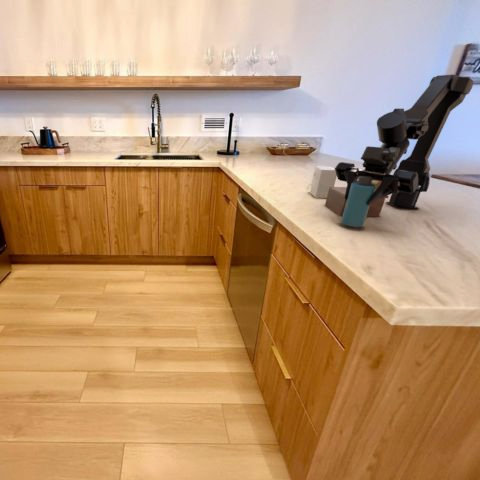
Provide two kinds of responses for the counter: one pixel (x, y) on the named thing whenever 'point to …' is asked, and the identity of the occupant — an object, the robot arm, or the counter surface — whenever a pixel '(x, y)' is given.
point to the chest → (339, 202)
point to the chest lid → (343, 189)
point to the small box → (322, 181)
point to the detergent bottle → (358, 202)
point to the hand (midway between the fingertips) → (356, 201)
